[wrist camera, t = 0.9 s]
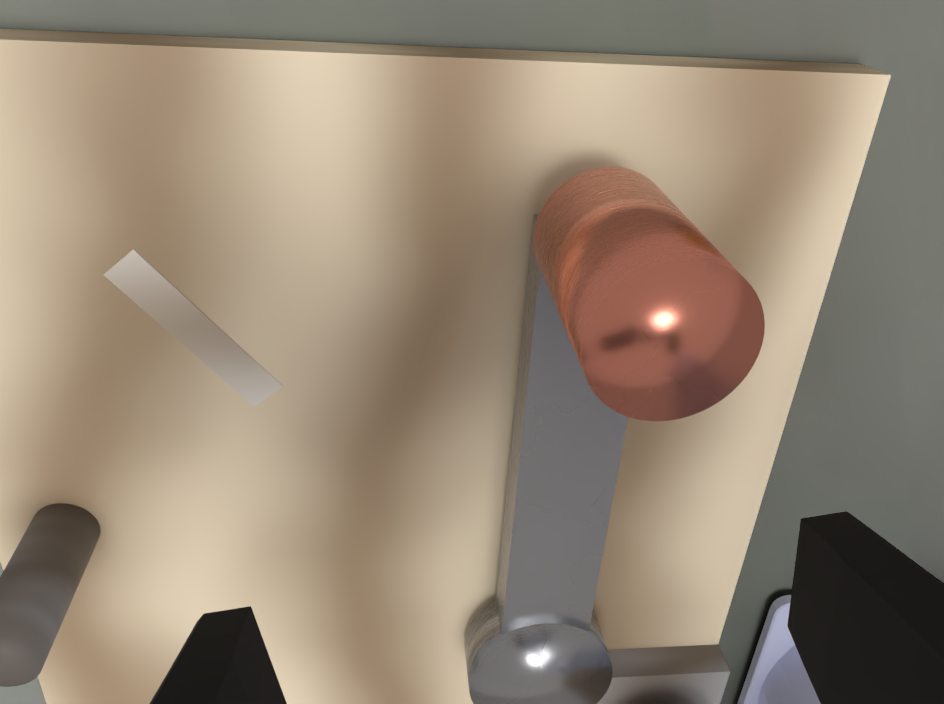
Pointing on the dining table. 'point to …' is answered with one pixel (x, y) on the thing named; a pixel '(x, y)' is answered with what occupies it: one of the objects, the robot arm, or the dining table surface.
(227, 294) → the board
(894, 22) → the dining table surface
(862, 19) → the dining table surface
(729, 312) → the lever
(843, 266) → the dining table surface
